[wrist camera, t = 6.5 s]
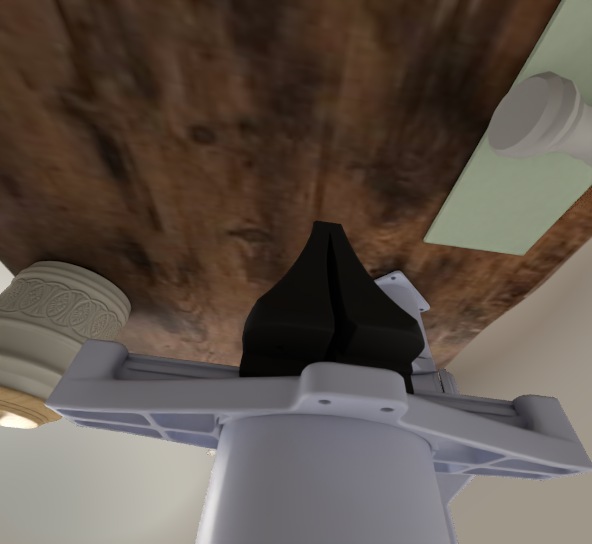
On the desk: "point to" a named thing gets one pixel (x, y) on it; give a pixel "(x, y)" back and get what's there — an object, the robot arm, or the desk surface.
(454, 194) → the mat
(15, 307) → the jar
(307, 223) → the desk surface
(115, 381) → the robot arm
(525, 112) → the rook chess piece
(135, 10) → the desk surface
